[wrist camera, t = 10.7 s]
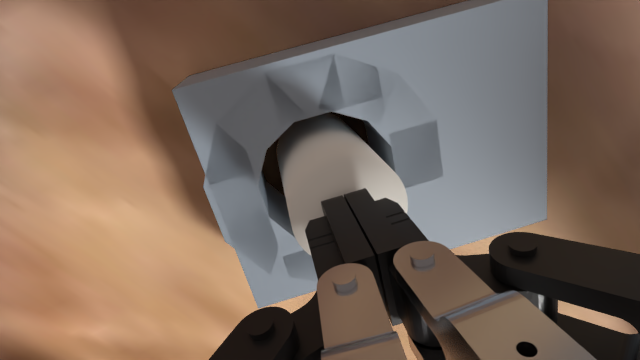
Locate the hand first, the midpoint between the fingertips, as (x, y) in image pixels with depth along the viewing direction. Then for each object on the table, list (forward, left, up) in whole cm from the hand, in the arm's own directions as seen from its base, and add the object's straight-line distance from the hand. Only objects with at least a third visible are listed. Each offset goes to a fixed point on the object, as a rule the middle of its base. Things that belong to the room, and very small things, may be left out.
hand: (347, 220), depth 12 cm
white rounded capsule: (0, 0, -7) cm, 7 cm away
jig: (-3, 0, -7) cm, 8 cm away
